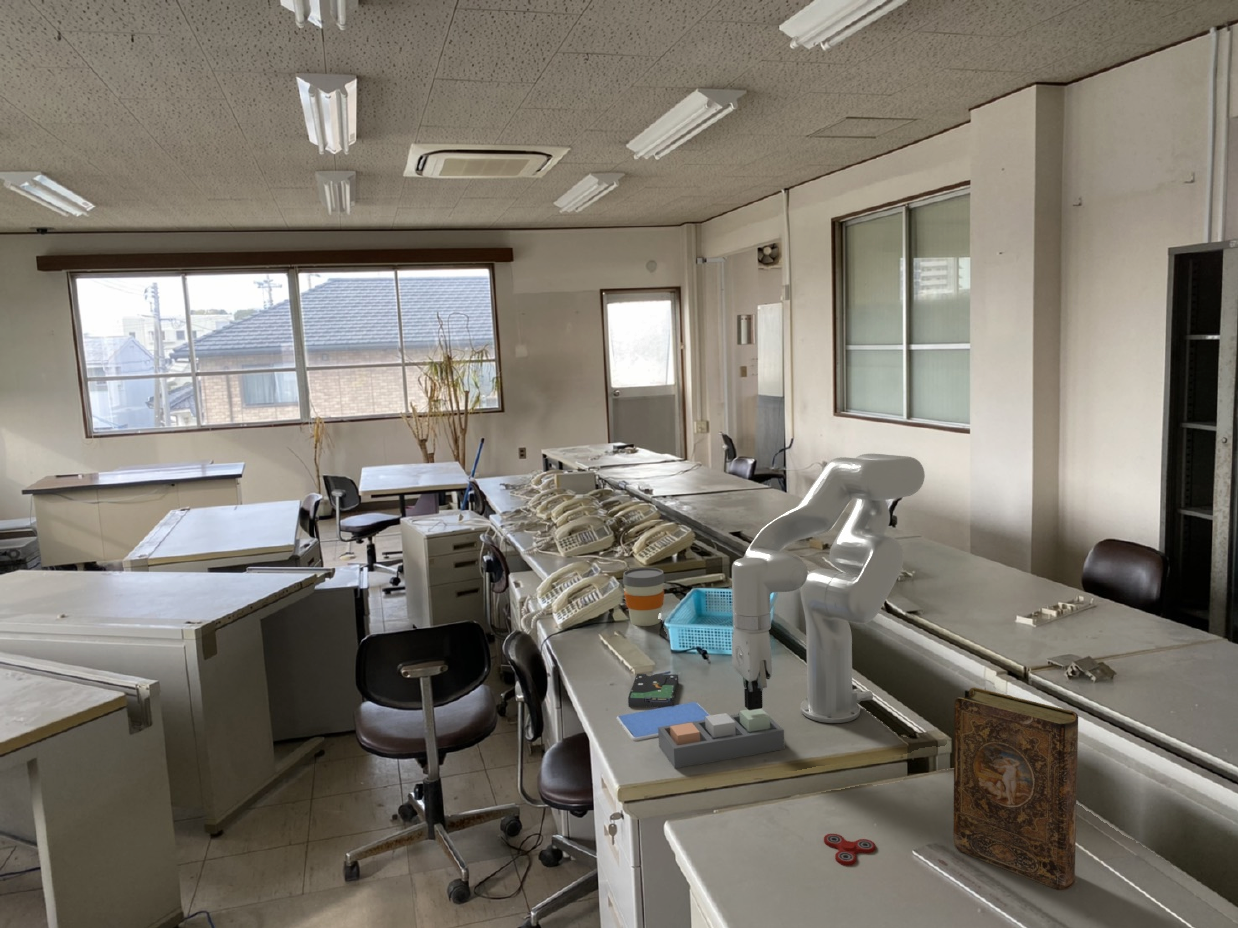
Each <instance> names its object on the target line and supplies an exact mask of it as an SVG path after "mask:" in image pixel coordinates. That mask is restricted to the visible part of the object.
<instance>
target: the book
mask: <svg viewBox="0 0 1238 928" xmlns="http://www.w3.org/2000/svg"><path fill="white" fill-rule="evenodd" d="M953 721H954V723H953V725H954V726H953V727H954V733H953V735H954V737H953V739H954V740H953V742H954V743H953V745H954V746H953V748H954V749H953V828H952V830H953V832H952V833H953V843H954V846H955V849H956V850H957V851H958V852H961V853H963V854H966V855H968V856H970V857H973V858H975V859H977V860H980V861H982V862H985V863H988V864H991V865H992V866H995V867H997V868H1000V869H1002V870H1003V869H1004V870H1006V871H1008V872H1011V873H1014V874H1017V875H1019V876H1022V877H1024V878H1026V879H1029V880H1032V881H1035V882H1037V883H1040V884H1041V885H1045V886H1047V887H1050V888H1052V889H1055V890H1058V891H1063V890H1067V889H1070V888H1072V887H1073V885H1074V884H1075V883H1076V882H1075V881H1076V843H1077V842H1076V837H1077V835H1076V834H1077V832H1076V831H1077V792H1078V789H1077V787H1078V753H1079V751H1078V747H1079V715H1078V713H1076V712H1075V711H1073V710H1069V709H1066V708H1061V707H1057V706H1053V705H1048V704H1044V703H1041V702H1037V701H1032V700H1029V699H1024V698H1019V697H1016V696H1011V695H1007V694H1004V693H999V692H995V691H992V690H987V689H984V688H983V689H982V688H979V687H974V686H973V687H971V688H969V691H968V696H966V697H965V696H964V697H957V698H956V699H955V700H954V720H953Z"/></svg>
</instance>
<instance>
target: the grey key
mask: <svg viewBox="0 0 1238 928" xmlns="http://www.w3.org/2000/svg"><path fill="white" fill-rule="evenodd" d="M709 715H710V716H705V727H706V729H707V730H708V732H709V733H710V734H711V735H712V736H713V737H714V738H715V737H721V736H727V735H732V734H735V721H734V720H733V719H732V718H731V717H730V716H731V715H729V714H728V713H727V712H723V713H717V714H709Z"/></svg>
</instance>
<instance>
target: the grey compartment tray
mask: <svg viewBox="0 0 1238 928" xmlns="http://www.w3.org/2000/svg"><path fill="white" fill-rule="evenodd" d="M729 716H730V717H731V718H732V719H733V720H734V721H735V734H732V735H727V736H721V737H715V738H714V737H713V736H712V735H711V734H710V733H709V732H708V730H707V729H706V727H705V720H700V721H694V722H688V723H693V725H694V726H695V727H696V728H697V729H698V731H699V732H700V742H695V743H690V744H684V745H678V746H677V745H676V743H675V742H674V741H673V739H672V738H671V736H670V726H674V725H669V726H663V727H658V735H659V737H658V747H659V748H660V750H661V751H662V753H663V754H664V756H665V757H666V758H667V759H668V761H669V762H670V765H672V767H673V768H674V769H680V768H685V767H691V766H697V765H702V764H708V763H712V762H719V761H724V760H731V759H736V758H741V757H748V756H753V755H758V754H764V753H771V752H775V751H780V750H785V730H784V728H782V727H781V725H779V724H778V723H777V722H776V721H775V720H774V719H772V717H770V728H768V729H762V730H756V731H750V732H749V731H748V730H747V729H746V728H745V727H744V726H743V725H742V724H741V723H740V713H738V714H737V713H736V714H732V715H729ZM682 724H686V723H682ZM676 725H680V724H676Z"/></svg>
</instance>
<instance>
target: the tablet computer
mask: <svg viewBox="0 0 1238 928" xmlns="http://www.w3.org/2000/svg"><path fill="white" fill-rule="evenodd" d="M710 715H711V714H710V713H708V711H707V710H705V709H704V707H702V706H701V705H700V704H699V703H698V702H697V701H692V702H686V703H682V704H681V703H680V704H675V705H674V704H673V706H669V707H664V708H658V707H657V708H653V709H649V710H643V711H637V712H632V713H631V712H630V713H627V714H621V715H618V716H616V721H617V722H618V724H619V725H620V726H621V727H622V729H623V730H624V731H625V733H626V734H627V736H628V737H629V738H630V739H631V741H633V742H639V741H644V740H650V739H653V738H654V739H655V738H659V735H658V727H663V726H669V725H676V724H682V723H688V722H694V721H700V720H705V716H710Z"/></svg>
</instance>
